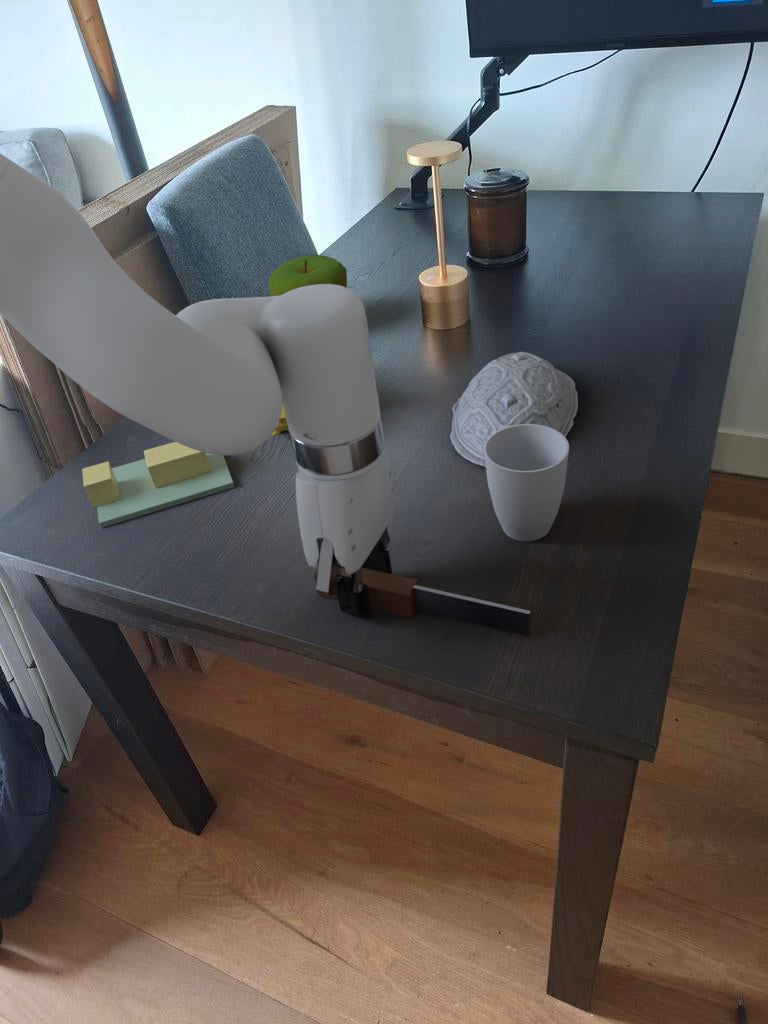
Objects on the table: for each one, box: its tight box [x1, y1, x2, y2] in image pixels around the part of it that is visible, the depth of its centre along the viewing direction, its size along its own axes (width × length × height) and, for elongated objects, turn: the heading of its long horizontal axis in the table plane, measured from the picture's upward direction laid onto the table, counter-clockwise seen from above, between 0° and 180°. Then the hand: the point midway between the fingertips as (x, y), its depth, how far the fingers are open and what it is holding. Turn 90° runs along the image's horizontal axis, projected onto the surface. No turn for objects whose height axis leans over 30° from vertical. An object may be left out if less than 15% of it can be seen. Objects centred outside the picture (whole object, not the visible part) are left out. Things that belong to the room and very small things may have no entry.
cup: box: [484, 424, 570, 542], centre depth 76 cm, size 8×8×10 cm
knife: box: [313, 568, 532, 638], centre depth 71 cm, size 21×2×3 cm, turn 66°
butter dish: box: [96, 453, 235, 529], centre depth 94 cm, size 16×11×1 cm
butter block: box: [143, 441, 211, 488], centre depth 93 cm, size 7×4×3 cm, turn 110°
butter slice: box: [81, 460, 120, 508], centre depth 91 cm, size 3×4×3 cm
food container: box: [449, 351, 579, 468], centre depth 95 cm, size 16×25×7 cm, turn 163°
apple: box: [268, 254, 348, 297], centre depth 119 cm, size 12×12×11 cm
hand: (367, 594), depth 74 cm, fingers open, 4 cm apart
